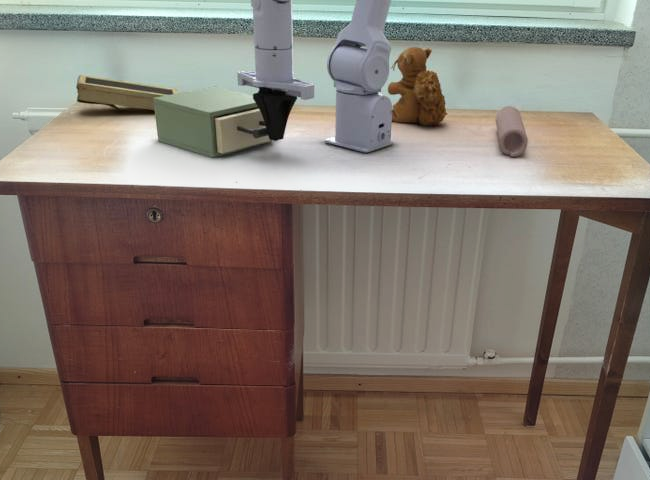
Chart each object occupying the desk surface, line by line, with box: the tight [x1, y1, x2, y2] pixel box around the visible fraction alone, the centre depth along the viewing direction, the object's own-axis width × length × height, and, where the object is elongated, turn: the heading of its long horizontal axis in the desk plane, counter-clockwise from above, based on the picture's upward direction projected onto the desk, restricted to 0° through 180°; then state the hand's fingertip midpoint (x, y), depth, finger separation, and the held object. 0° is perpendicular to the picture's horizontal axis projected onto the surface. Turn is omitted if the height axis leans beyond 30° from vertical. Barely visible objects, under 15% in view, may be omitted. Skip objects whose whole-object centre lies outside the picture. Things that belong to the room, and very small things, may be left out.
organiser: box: [153, 86, 273, 159], centre depth 117 cm, size 14×14×7 cm
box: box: [75, 74, 180, 112], centre depth 135 cm, size 8×22×5 cm, turn 107°
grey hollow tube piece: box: [495, 105, 529, 158], centre depth 123 cm, size 5×5×18 cm
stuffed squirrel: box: [387, 46, 449, 127], centre depth 132 cm, size 10×14×13 cm
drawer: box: [214, 107, 270, 154], centre depth 115 cm, size 18×12×5 cm
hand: (276, 139), depth 110 cm, fingers closed
